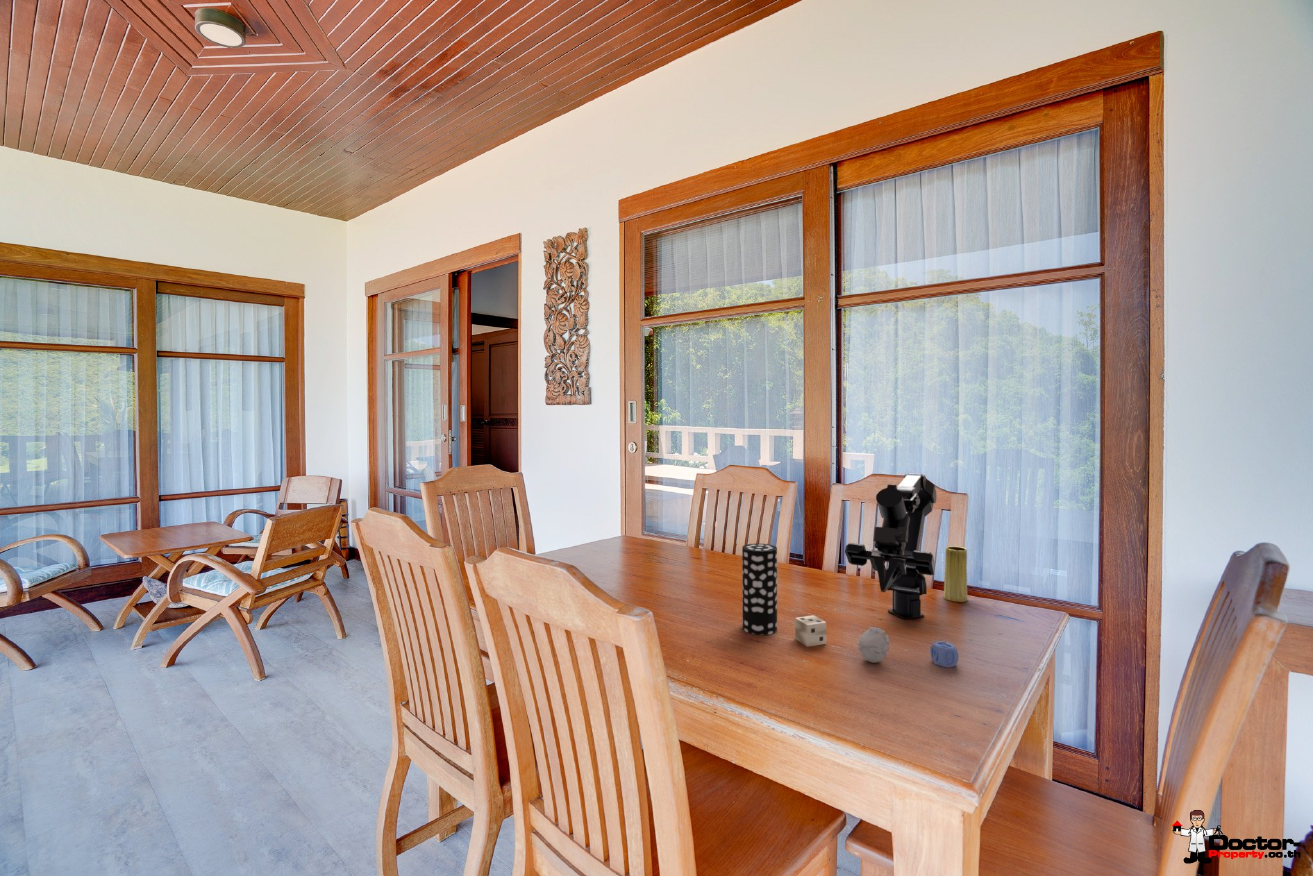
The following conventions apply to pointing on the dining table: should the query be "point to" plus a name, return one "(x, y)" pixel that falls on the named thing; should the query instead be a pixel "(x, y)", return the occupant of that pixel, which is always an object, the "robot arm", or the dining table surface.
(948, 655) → the decorative dice
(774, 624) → the white-spotted black cylinder
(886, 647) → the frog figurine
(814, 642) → the birch pip block
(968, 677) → the dining table surface
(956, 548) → the vase
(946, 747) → the dining table surface
